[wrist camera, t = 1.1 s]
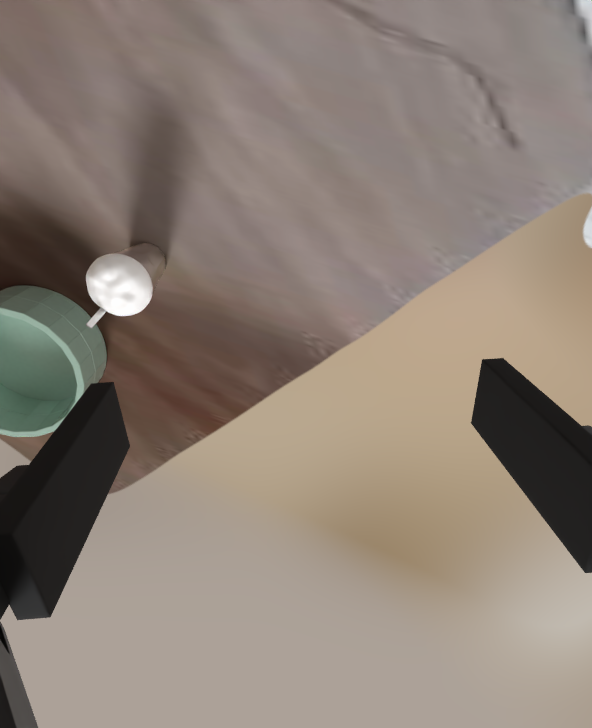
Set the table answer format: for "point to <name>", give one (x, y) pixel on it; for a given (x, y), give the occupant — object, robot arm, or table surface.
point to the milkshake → (124, 280)
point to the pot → (44, 359)
